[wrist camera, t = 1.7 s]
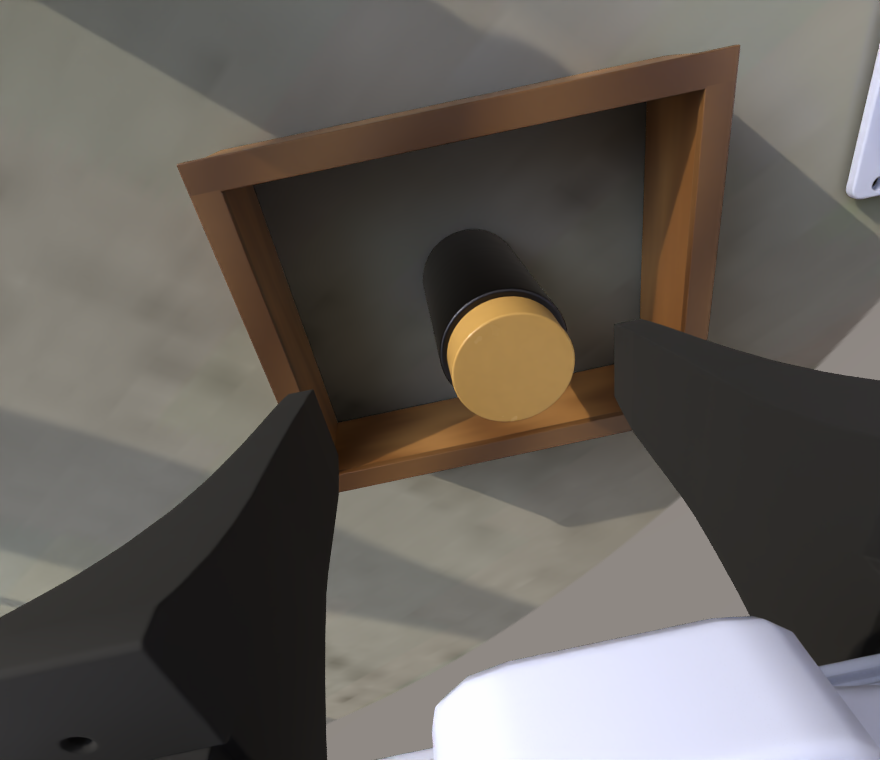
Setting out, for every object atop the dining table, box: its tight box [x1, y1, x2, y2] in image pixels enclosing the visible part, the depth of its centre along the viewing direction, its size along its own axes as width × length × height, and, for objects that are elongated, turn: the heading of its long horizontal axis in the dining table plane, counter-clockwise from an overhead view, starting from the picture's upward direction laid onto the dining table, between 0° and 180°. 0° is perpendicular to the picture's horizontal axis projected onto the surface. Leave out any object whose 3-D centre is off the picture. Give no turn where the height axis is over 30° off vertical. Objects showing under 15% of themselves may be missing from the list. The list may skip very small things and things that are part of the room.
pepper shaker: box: [423, 230, 575, 422], centre depth 17 cm, size 4×4×8 cm
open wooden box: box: [177, 45, 740, 492], centre depth 19 cm, size 16×13×4 cm
